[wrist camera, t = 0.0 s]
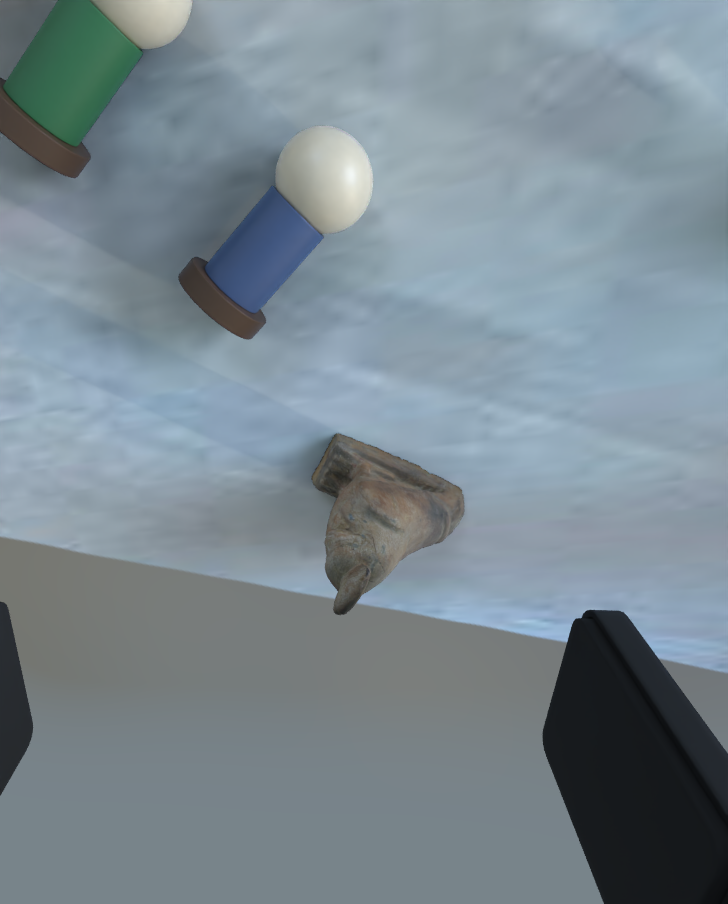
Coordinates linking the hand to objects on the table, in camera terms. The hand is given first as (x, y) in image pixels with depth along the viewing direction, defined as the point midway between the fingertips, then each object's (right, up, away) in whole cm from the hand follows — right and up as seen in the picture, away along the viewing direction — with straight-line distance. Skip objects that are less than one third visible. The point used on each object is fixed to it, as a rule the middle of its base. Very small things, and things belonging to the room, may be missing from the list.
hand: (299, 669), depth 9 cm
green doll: (-13, +26, +22) cm, 37 cm away
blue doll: (-4, +18, +26) cm, 32 cm away
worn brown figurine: (+3, +1, +34) cm, 34 cm away
